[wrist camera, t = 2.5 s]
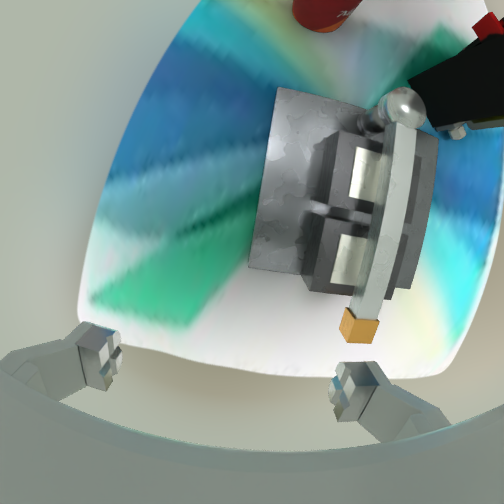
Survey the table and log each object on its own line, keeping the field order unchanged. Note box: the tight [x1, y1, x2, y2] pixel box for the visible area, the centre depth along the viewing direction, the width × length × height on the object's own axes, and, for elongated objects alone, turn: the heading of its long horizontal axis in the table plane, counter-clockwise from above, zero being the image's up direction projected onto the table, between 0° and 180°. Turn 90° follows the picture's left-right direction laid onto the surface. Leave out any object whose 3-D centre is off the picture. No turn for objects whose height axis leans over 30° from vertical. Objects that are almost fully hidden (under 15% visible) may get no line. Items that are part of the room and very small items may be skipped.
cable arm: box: [339, 87, 426, 344], centre depth 18 cm, size 20×3×2 cm, turn 171°
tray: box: [248, 87, 439, 300], centre depth 22 cm, size 17×18×6 cm
